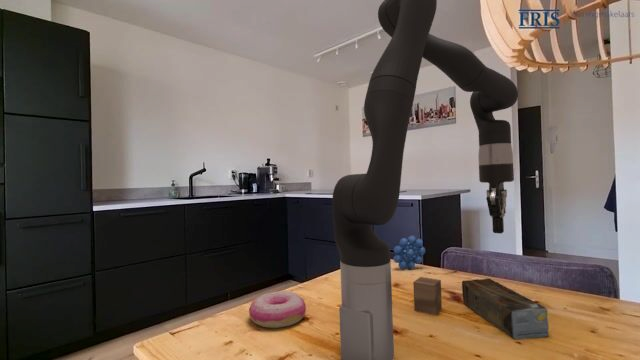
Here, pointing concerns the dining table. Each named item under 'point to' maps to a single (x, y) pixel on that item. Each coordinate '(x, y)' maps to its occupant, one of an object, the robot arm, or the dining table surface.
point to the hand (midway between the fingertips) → (498, 232)
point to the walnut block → (427, 295)
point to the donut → (277, 309)
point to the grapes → (409, 252)
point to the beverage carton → (506, 309)
